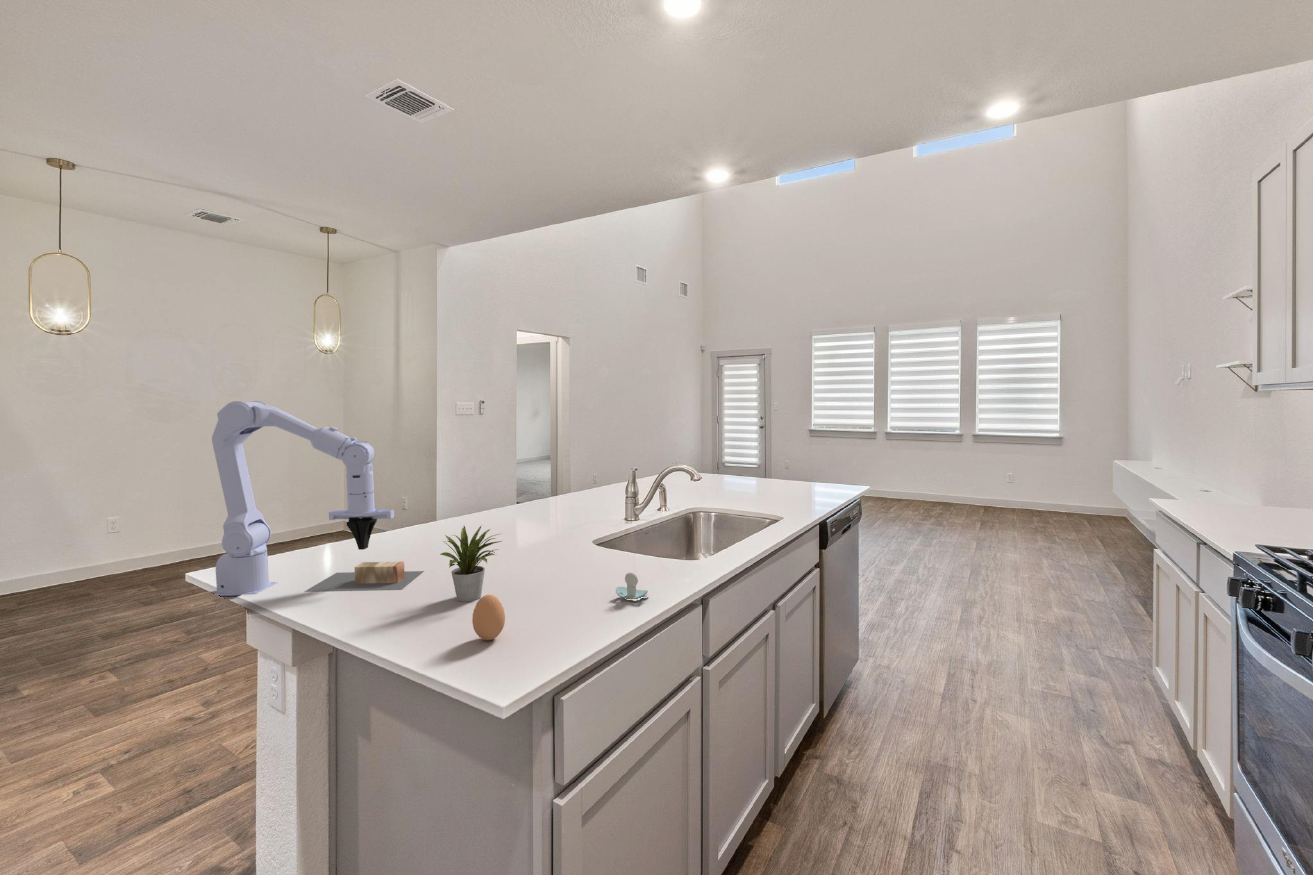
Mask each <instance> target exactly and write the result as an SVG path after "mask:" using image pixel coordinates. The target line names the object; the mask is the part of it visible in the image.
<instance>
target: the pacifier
mask: <svg viewBox="0 0 1313 875" xmlns="http://www.w3.org/2000/svg"><path fill="white" fill-rule="evenodd" d="M624 581H625V584H626V587H625V586H617V587H616V588H615V594H616V595H617V596H619V597H621V598H623V599H624V598H626V599H638V598H641V597H647V595H649V594H648V592H649V591H648V590H647V589H645V590H641V589H637V585H638V582H639V580H638V576H636V574H635V573H633V572H628V573H626V574H625V576H624Z"/></svg>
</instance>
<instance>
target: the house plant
mask: <svg viewBox="0 0 1313 875" xmlns="http://www.w3.org/2000/svg"><path fill="white" fill-rule="evenodd" d="M481 529H482V524H481V525H480V526H479V528H477V530H476V531H475V533H474V534H473V536H472V537H471V539H470V541H469V536H468V534H467V529H466V526H465V525H463V528H461V531H460V537H459V536H458V535H454V534H453V536H454V537H456V538H457V539H458V541H459V543H460V546H459V545H458V544H457V542H456V541H454V539H453V538H451V537H450V536H448V535H446V534H444V536H445V537H446V539H447V542H448V543H449V544H451V545H452V546H453V547H454V548H452V547H451V546H450V545H449V544H448V543H447V542H446V540H445V541H444V540H443V541H442V542H443V543H444V544H446V545H447V546H448V547H449V548H450V549H451V550H452V551H453V552H454V553H455V555H456V556H457V557H456V556H455V555H454V554H453V553H451V552H447V551H445V552H444V551H443V552H442V553H440V554H439V555H441V556H445V557H448V558H450V560H449V563H448V567H449V568H448V569H450V568H451V567H453V566H455V565H457V566H458V567H456V568H454V569H452V570H451V576H452V580H453V585H454V590H455V596H456V601H459V602H467V603H468V602H473V601H477V600H480V599H481V598H482V593H483V584H484V578H485V571H486V568H485V567H484V566H481V565H480V563H481V562H482V561H484V562H485V563H486V564H487V565H488V559H487V557H490V556H496V551H498V550H499V548H498V549H497V548H495V549H492V550H489V549H488V550H483V549H485V548H486V547H489V546H491V545H494V544H498V543H501V542H503V540H499V541H491V542H490V540H495V539H496V540H497V537H494V536H499V535H500V533H497V534H493V535H490V536H489V537H487V538H485V537H486V535H487V533H488V532H489V531H491V528H489V529H487V530H485V531H484V532H483V533H482V534H481V535H480V536H479V537H478V535H479V532H480V531H481ZM502 534H503V533H501V535H502ZM454 549H455V550H454ZM482 550H483V551H482ZM480 551H481V552H480Z"/></svg>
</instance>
